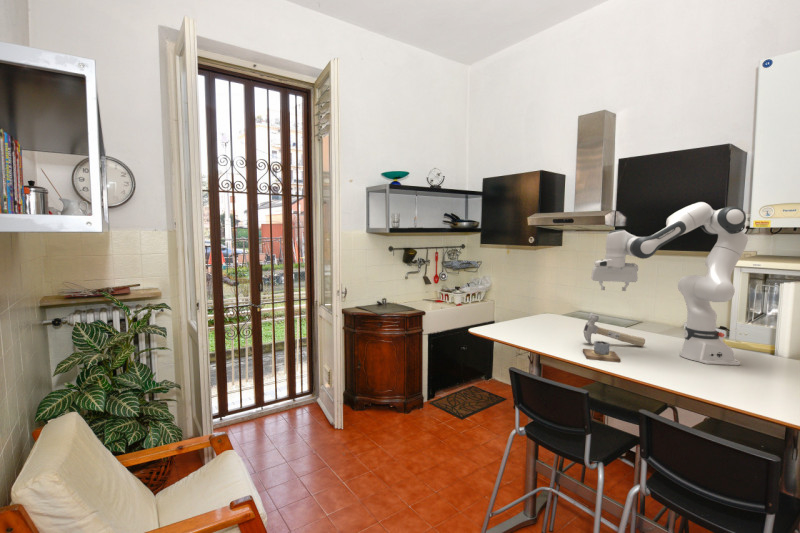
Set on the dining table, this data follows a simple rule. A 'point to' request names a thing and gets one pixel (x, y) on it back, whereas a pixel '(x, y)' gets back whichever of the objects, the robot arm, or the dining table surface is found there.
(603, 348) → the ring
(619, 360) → the post board
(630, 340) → the hammer
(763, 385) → the dining table surface
